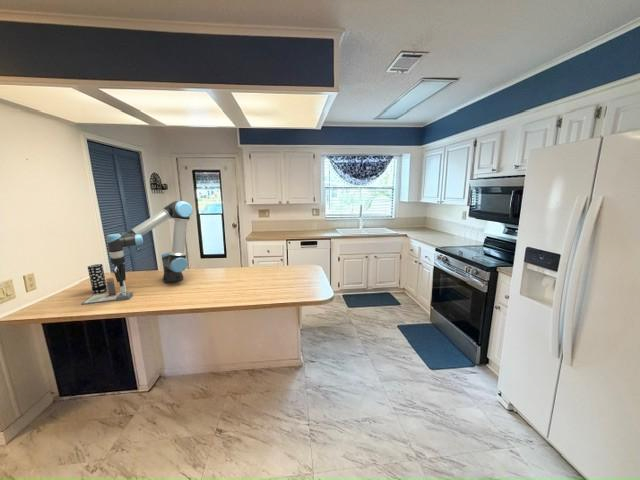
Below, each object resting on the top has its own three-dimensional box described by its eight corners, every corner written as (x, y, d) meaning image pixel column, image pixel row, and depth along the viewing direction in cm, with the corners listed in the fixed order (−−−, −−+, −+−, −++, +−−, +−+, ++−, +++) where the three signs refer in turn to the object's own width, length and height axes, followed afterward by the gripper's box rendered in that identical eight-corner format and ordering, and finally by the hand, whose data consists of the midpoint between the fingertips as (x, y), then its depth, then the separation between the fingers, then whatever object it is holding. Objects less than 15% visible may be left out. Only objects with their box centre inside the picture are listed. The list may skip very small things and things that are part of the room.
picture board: (125, 292, 195) (125, 291, 195) (116, 300, 181) (116, 299, 181) (93, 296, 189) (92, 294, 189) (81, 305, 175) (81, 303, 175)
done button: (128, 295, 186) (127, 289, 185) (126, 297, 183) (125, 291, 182) (122, 295, 185) (121, 289, 184) (120, 297, 182) (119, 291, 181)
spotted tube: (90, 294, 192) (84, 268, 188) (96, 290, 200) (91, 264, 196) (104, 293, 194) (98, 266, 190) (109, 288, 202) (104, 263, 198)
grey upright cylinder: (117, 293, 191) (114, 277, 188) (114, 295, 187) (111, 279, 184) (110, 294, 190) (107, 277, 187) (107, 296, 186) (104, 279, 183)
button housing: (132, 295, 188) (132, 291, 188) (128, 299, 182) (128, 295, 181) (121, 297, 187) (120, 293, 186) (117, 301, 180) (116, 297, 179)
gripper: (115, 255, 183) (121, 287, 188) (106, 260, 171) (112, 294, 176) (127, 254, 185) (133, 286, 190) (119, 259, 173) (125, 293, 178)
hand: (123, 290), depth 183 cm, fingers closed
